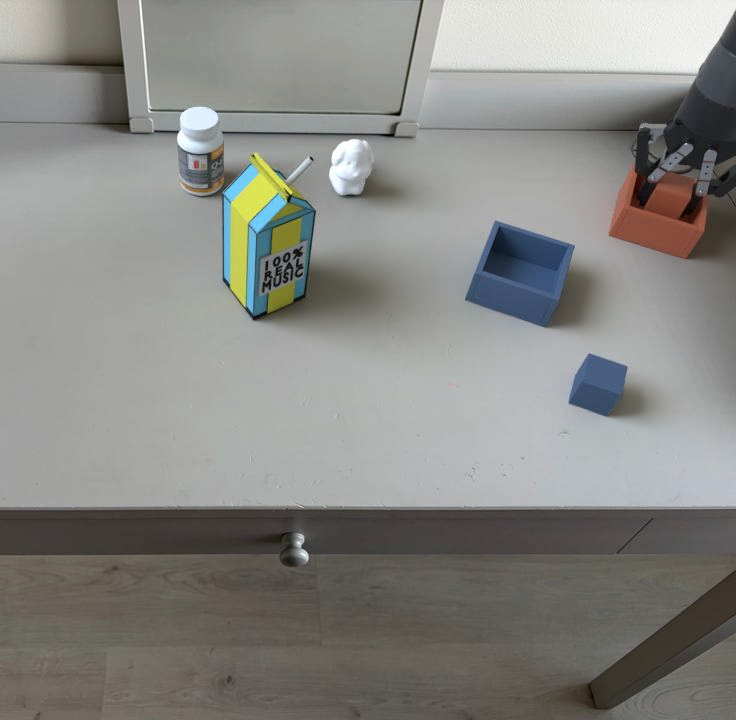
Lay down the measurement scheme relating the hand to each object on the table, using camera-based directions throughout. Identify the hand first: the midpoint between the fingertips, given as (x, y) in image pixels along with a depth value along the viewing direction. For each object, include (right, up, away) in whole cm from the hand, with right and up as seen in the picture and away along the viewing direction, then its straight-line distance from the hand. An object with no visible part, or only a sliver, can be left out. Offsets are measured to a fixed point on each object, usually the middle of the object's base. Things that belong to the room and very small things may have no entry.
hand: (661, 207), depth 96 cm
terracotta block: (0, 0, 0) cm, 0 cm away
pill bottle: (-57, +4, +4) cm, 58 cm away
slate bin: (-20, -10, -5) cm, 23 cm away
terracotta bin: (0, -2, +2) cm, 3 cm away
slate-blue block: (-15, -23, -14) cm, 31 cm away
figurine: (-39, +4, +5) cm, 39 cm away
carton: (-49, -11, -6) cm, 51 cm away
